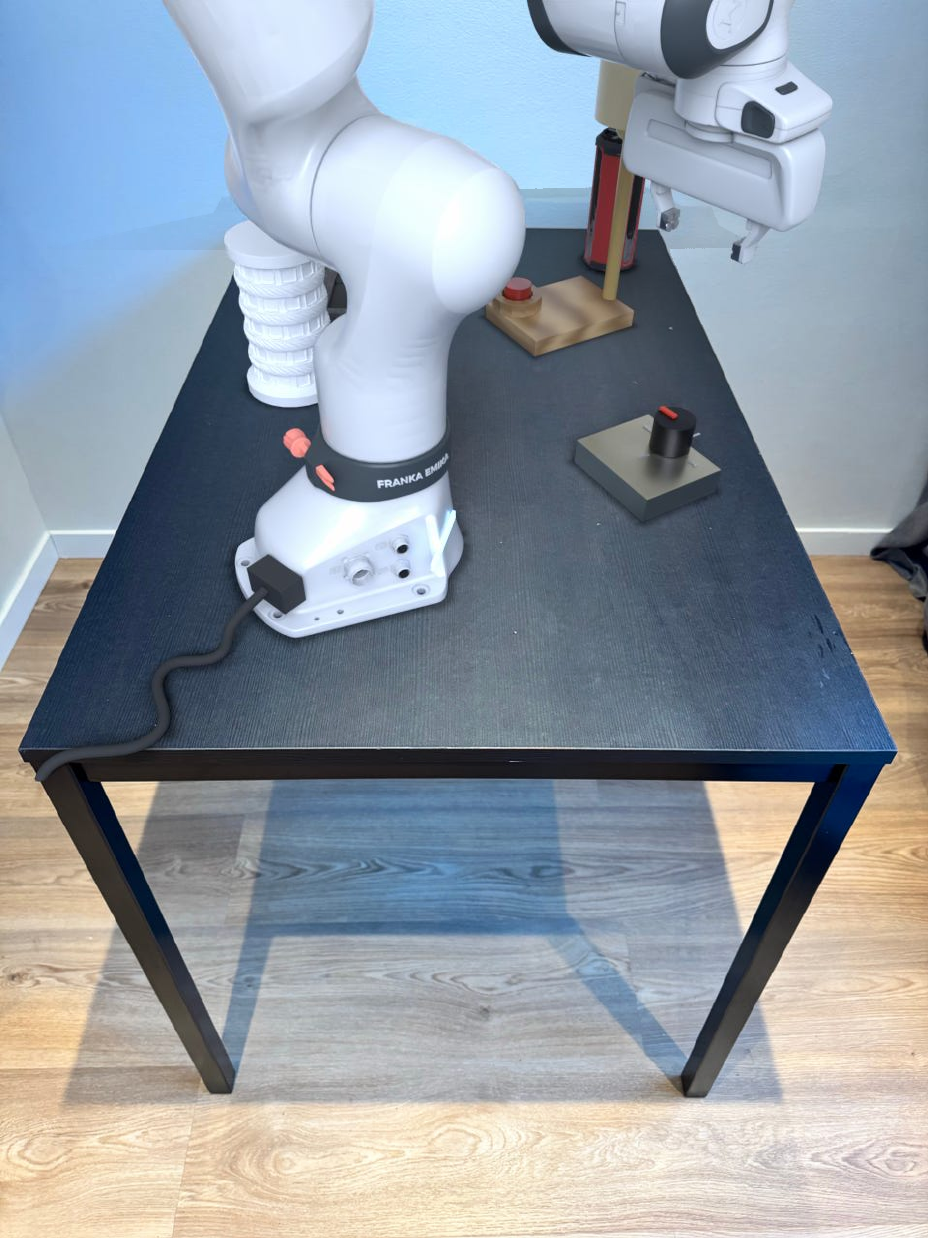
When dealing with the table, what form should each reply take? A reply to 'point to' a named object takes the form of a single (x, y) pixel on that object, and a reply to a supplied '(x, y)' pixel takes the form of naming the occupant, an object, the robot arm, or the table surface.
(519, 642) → the table surface
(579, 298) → the lamp base
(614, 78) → the lamp
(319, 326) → the decorative container
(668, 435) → the dimmer knob
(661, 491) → the block
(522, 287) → the lamp switch
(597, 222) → the speaker
